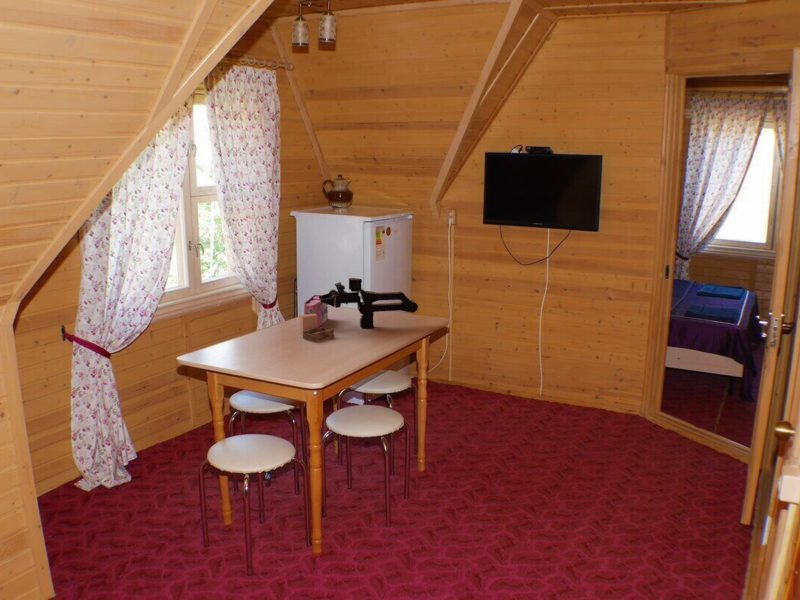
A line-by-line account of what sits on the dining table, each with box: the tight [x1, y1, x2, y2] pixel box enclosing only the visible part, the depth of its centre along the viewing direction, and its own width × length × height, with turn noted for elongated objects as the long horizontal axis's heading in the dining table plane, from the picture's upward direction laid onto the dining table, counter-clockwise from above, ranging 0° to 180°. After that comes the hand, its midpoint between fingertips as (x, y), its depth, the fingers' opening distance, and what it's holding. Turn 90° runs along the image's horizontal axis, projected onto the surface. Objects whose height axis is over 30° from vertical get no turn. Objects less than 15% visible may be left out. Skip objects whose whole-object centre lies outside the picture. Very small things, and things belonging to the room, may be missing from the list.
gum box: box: [303, 294, 329, 328], centre depth 403 cm, size 24×8×14 cm, turn 172°
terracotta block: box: [299, 314, 318, 336], centre depth 382 cm, size 8×4×10 cm, turn 116°
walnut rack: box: [302, 326, 335, 343], centre depth 374 cm, size 13×9×4 cm
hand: (319, 298), depth 388 cm, fingers open, 9 cm apart
